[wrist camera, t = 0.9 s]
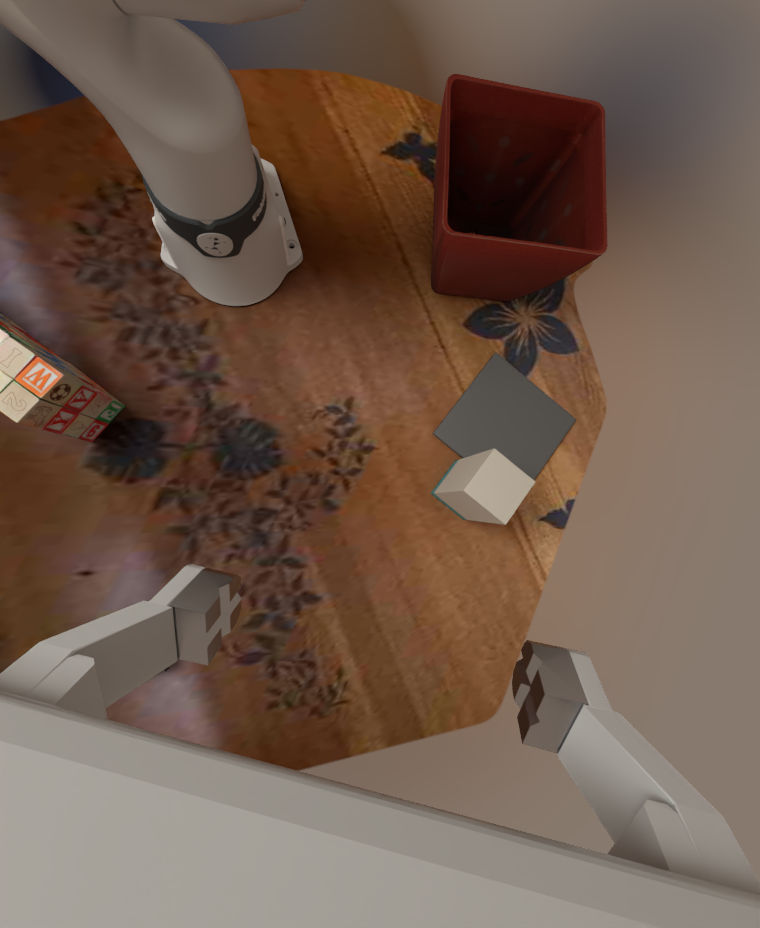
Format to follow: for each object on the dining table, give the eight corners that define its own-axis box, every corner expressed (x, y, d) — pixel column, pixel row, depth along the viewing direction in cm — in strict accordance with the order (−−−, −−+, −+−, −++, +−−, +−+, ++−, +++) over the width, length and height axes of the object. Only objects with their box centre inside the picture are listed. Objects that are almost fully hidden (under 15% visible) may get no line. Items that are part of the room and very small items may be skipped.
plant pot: (408, 311, 56) (442, 230, 39) (413, 193, 58) (447, 69, 41) (528, 325, 58) (608, 255, 42) (529, 212, 60) (605, 102, 44)
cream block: (430, 493, 54) (463, 490, 41) (455, 460, 55) (494, 448, 42) (463, 519, 54) (505, 524, 41) (486, 486, 55) (535, 481, 42)
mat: (516, 502, 55) (518, 502, 55) (432, 433, 54) (433, 433, 54) (573, 420, 58) (576, 419, 57) (494, 353, 57) (495, 352, 57)
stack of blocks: (-49, 339, 47) (-180, 283, 35) (-11, 303, 48) (-125, 236, 36) (93, 443, 48) (15, 423, 36) (128, 406, 49) (62, 374, 37)
